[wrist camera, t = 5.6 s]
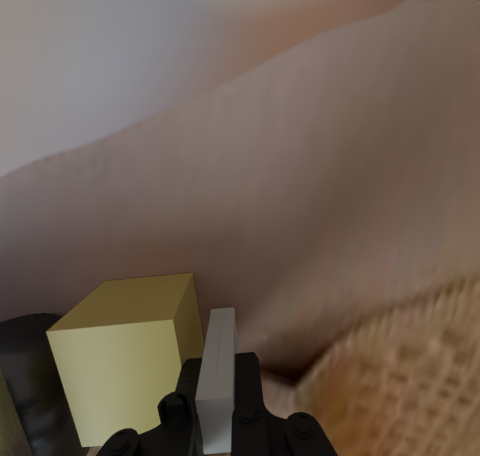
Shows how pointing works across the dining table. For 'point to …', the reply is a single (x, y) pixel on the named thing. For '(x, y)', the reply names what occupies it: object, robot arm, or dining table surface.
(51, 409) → the box
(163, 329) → the block
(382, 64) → the dining table surface
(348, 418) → the dining table surface
